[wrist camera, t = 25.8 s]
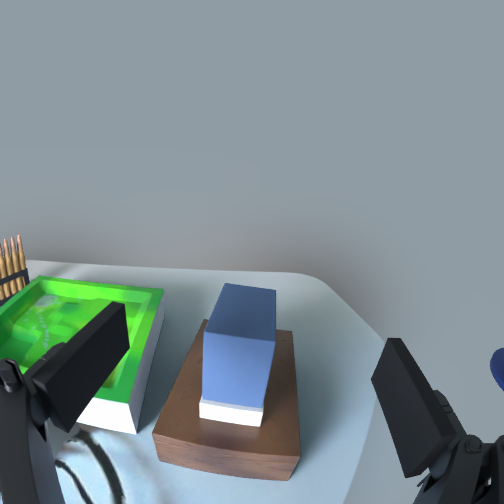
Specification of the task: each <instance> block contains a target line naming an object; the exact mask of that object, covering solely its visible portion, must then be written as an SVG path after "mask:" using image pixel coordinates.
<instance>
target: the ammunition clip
mask: <svg viewBox="0 0 504 504" xmlns="http://www.w3.org/2000/svg"><path fill="white" fill-rule="evenodd" d="M10 244H11V258H10V253H9V247H8V243H7V241H6V239H4V259H3V255H2V248H1V245H0V307H1V306H3V305H4V304H5V303H6V302H7V301H8V300H10V299H11V298H12V297H13V296H14V295H16V294H17V293H18V292H19V291H20V290H22V289H23V288H24V287H25V286H27V285H28V284H29V283H30V281H29V276H28V271H27V268H26V264H25V257H24V253H23V248H22V241H21V237H20V235H19V234H18V238H17V248H18V257H17V253H16V246H15V242H14V238H13V236H12V237H11V243H10Z"/></svg>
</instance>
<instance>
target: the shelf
mask: <svg viewBox="0 0 504 504" xmlns="http://www.w3.org/2000/svg"><path fill="white" fill-rule="evenodd" d="M208 321H209V320H206V319H204V320H203V323H202V325H201V327H200V329H199V331H198V333H197V335H196V337H195V340H194V342H193V344H192V346H191V348H190V350H189V353H188V355H187V357H186V359H185V361H184V363H183V366H182V368H181V370H180V372H179V374H178V376H177V379H176V381H175V383H174V385H173V387H172V390H171V392H170V394H169V396H168V398H167V401H166V403H165V405H164V407H163V409H162V412H161V414H160V416H159V418H158V420H157V423H156V425H155V427H154V429H153V432H152V435H153V439H154V443H155V447H156V451H157V455H158V458H159V460H160V461H163V462H167V463H170V464H174V465H178V466H182V467H187V468H191V469H196V470H200V471H206V472H211V473H217V474H223V475H229V476H236V477H244V478H254V479H265V480H281V481H288V480H289V478H290V476H291V474H292V472H293V470H294V468H295V466H296V464H297V463H298V461H299V459H300V457H301V452H300V432H299V415H298V399H297V385H296V371H295V359H294V347H293V335H292V331H285V330H276V345H275V350H274V355H273V360H272V365H271V370H270V375H269V379H268V384H267V389H266V394H265V398H264V409H263V416H262V420H261V424H260V426H251V425H243V424H236V423H229V422H223V421H217V420H211V419H206V418H201V417H200V400H201V397H202V375H203V338H204V330H205V328H206V325H207V323H208Z"/></svg>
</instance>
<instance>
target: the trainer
mask: <svg viewBox="0 0 504 504" xmlns="http://www.w3.org/2000/svg"><path fill="white" fill-rule="evenodd" d="M275 345H276V290H272V289H264V288H257V287H249V286H242V285H235V284H228V283H225V284H224V287H223V289H222V291H221V293H220V296H219V298H218V300H217V303H216V305H215V307H214V309H213V312H212V314H211V316H210V319H209V321H208V323H207V325H206V328H205V330H204V338H203V375H202V397H201V400H200V417H201V418H206V419H211V420H217V421H223V422H229V423H236V424H243V425H251V426H260V424H261V420H262V416H263V409H264V398H265V394H266V389H267V384H268V379H269V375H270V370H271V365H272V360H273V355H274V350H275Z"/></svg>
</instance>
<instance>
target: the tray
mask: <svg viewBox="0 0 504 504" xmlns="http://www.w3.org/2000/svg"><path fill="white" fill-rule="evenodd" d="M112 301H115V302H119V303H124V304H125V309H126V319H127V328H128V336H129V343H130V349H129V350H128V351H127V353H126V354H125V355H124V357H123V358H122V359H121V361H120V362H119V363H118V365H117V366H116V367H115V369H114V370H113V371H112V373H111V374H110V375H109V377H108V378H107V379H106V381H105V382H104V383H103V385H102V386H101V388H100V389H99V390H98V392H97V393H96V394H95V396H94V397H93V399H92V400H91V401H90V403H89V404H88V406H87V407H86V408H85V410H84V411H83V413H82V414H81V415H80V417H79V418H78V420H77V422H80V423H84V424H88V425H92V426H97V427H101V428H106V429H111V430H116V431H121V432H127V433H133V434H137V429H138V423H139V418H140V414H141V409H142V404H143V400H144V395H145V391H146V386H147V382H148V378H149V373H150V369H151V365H152V361H153V357H154V353H155V349H156V345H157V342H158V338H159V334H160V330H161V327H162V323H163V320H164V316H165V313H164V289H155V288H144V287H133V286H123V285H113V284H104V283H95V282H86V281H78V280H70V279H62V278H54V277H47V276H40V275H39V276H38V277H37V278H36V279H34V280H33V281H32V282H30V283H29V284H28V285H27V286H25V287H24V288H23V289H22V290H20V291H19V292H18V293H17V294H16V295H14V296H13V297H12V298H11V299H10V300H8V301H7V302H6V303H5V304H4V305H3V306H1V307H0V359H4V358H11V359H13V360H15V361H16V362H17V363H18V365H19V368H20V370H21V372H22V375H23V374H24V373H25V372H26V371H27V370H28V369H29V368H30V367H31V366H32V365H33V364H34V363H35V362H36V361H37V360H38V359H39V358H40V359H41V356H42V355H44V354H46V352H47V351H48V350H49V349H50V348H51V347H52V346H54V345H56V344H58V343H60V342H65V343H66V342H68V341H69V340H70V339H71V338H72V337H73V336H74V335H75V334H76V333H77V332H78V331H79V330H80V329H82V328H83V327H84V326H85V325H86V324H87V323H88V322H89V321H90V320H91V319H93V318H94V317H95V316H96V315H97V314H98V313H99V312H100V311H102V310H103V309H104V308H105V307H106V306H107V305H108V304H109V303H111V302H112Z"/></svg>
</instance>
